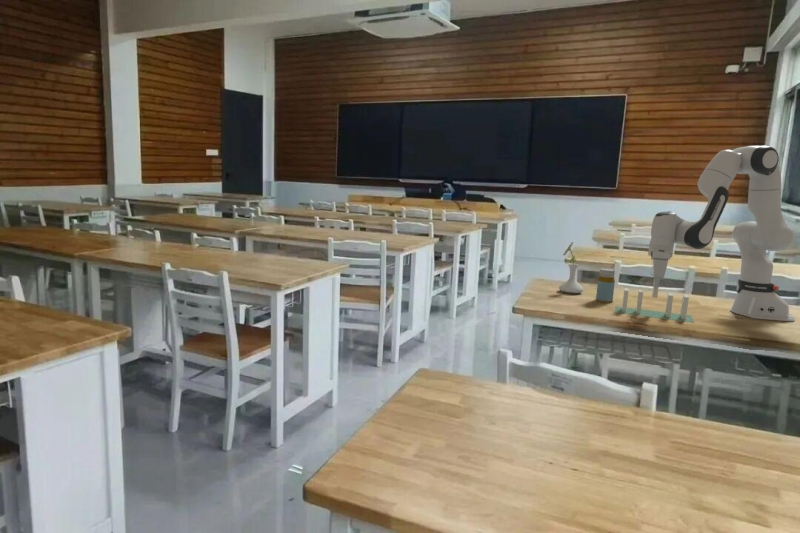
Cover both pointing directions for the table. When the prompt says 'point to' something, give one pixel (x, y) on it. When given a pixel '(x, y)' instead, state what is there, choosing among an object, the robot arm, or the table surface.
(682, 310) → the domino
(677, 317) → the felt runner
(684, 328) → the table surface
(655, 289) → the domino
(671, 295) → the domino
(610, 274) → the bottle
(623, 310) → the domino end
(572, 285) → the flower in vase
